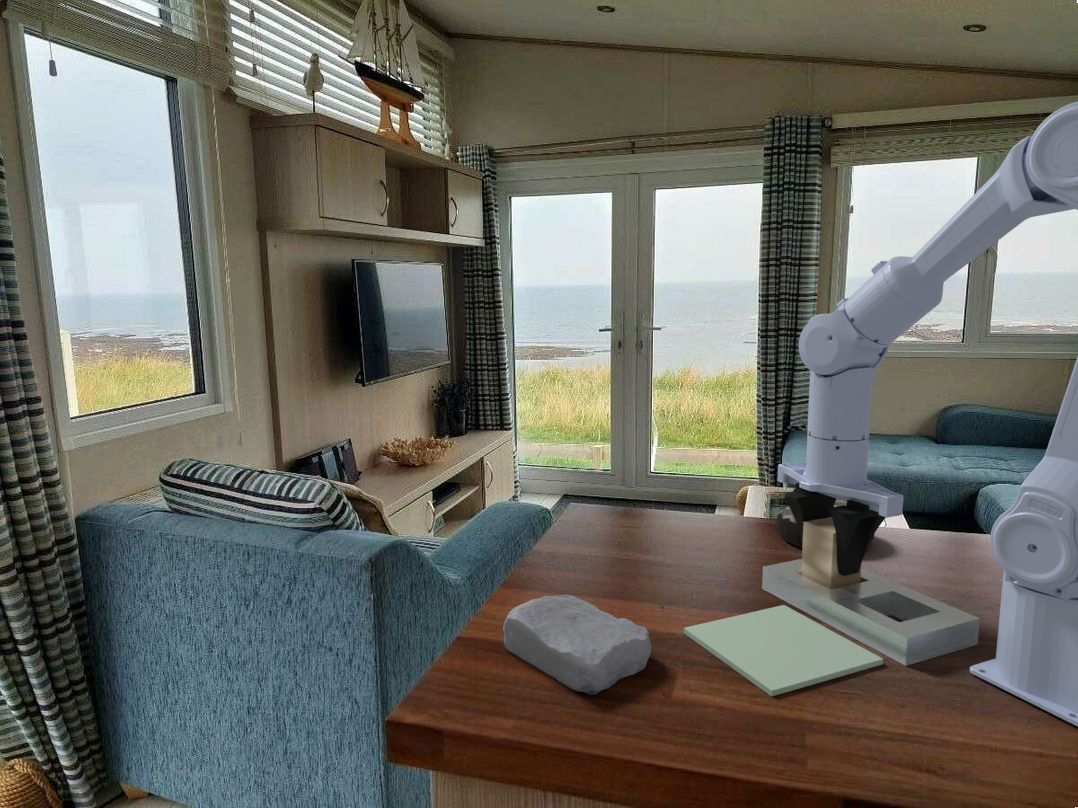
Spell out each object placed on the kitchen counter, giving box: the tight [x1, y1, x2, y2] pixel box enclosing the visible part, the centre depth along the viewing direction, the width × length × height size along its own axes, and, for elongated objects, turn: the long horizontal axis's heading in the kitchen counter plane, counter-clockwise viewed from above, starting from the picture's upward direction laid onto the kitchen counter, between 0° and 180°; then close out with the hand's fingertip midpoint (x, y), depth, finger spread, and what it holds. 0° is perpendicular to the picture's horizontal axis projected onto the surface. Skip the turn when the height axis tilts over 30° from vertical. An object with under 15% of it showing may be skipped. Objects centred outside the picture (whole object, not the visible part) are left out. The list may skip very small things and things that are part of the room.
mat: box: [683, 604, 884, 697], centre depth 66 cm, size 12×12×1 cm
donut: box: [775, 503, 876, 549], centre depth 93 cm, size 12×12×4 cm
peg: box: [801, 517, 862, 589], centre depth 75 cm, size 4×4×8 cm
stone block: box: [502, 594, 652, 696], centre depth 65 cm, size 12×5×10 cm
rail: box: [761, 558, 981, 667], centre depth 72 cm, size 18×9×2 cm, turn 24°
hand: (831, 565), depth 75 cm, fingers closed on peg, 4 cm apart
